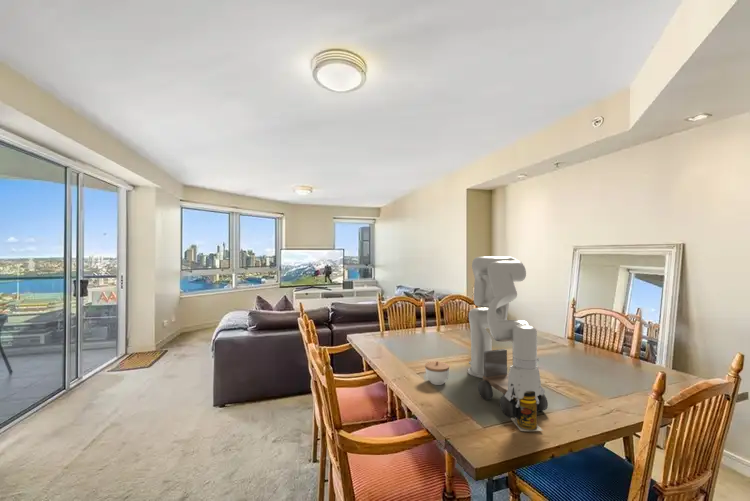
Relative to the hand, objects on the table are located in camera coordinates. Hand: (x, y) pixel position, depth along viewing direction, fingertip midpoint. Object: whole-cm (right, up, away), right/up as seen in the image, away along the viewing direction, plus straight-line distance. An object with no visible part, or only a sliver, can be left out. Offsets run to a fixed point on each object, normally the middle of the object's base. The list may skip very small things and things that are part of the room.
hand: (525, 415), depth 112 cm
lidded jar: (-22, -4, +39) cm, 45 cm away
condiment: (0, -3, 0) cm, 3 cm away
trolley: (+2, -4, +16) cm, 17 cm away
